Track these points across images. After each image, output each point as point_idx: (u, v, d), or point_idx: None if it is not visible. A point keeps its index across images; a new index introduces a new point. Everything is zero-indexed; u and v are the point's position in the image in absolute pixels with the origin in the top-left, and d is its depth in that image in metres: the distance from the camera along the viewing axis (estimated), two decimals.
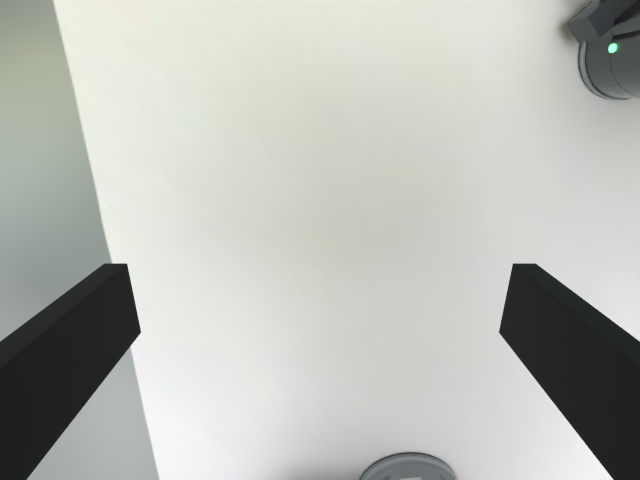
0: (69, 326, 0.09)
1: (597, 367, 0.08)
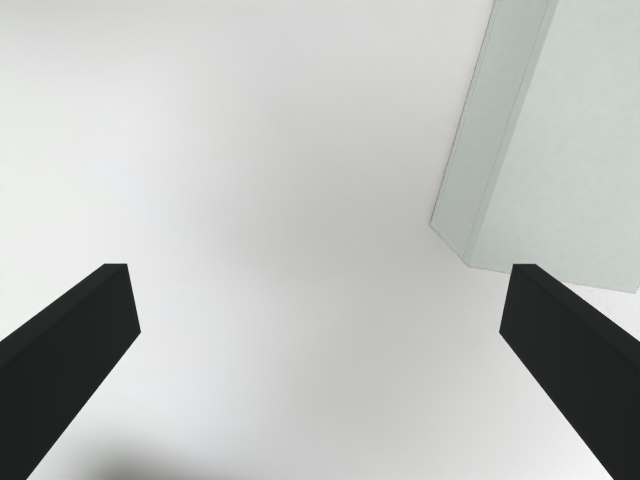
0: (69, 326, 0.09)
1: (597, 367, 0.08)
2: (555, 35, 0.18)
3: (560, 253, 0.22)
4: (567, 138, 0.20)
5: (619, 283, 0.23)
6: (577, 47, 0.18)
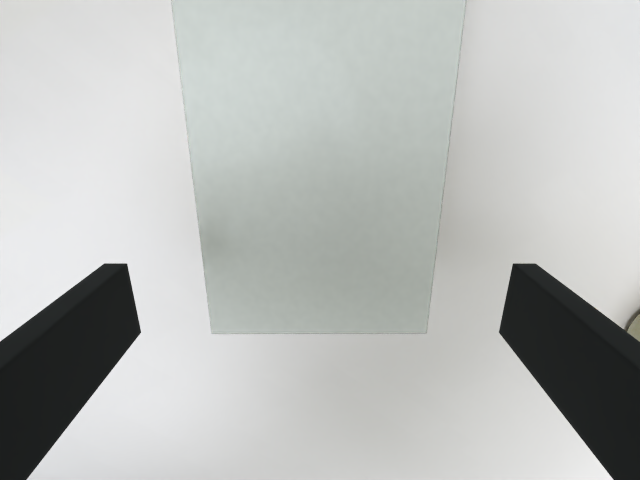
0: (69, 326, 0.09)
1: (597, 367, 0.08)
2: (188, 57, 0.14)
3: (314, 303, 0.18)
4: (261, 173, 0.16)
5: (401, 325, 0.19)
6: (222, 66, 0.14)
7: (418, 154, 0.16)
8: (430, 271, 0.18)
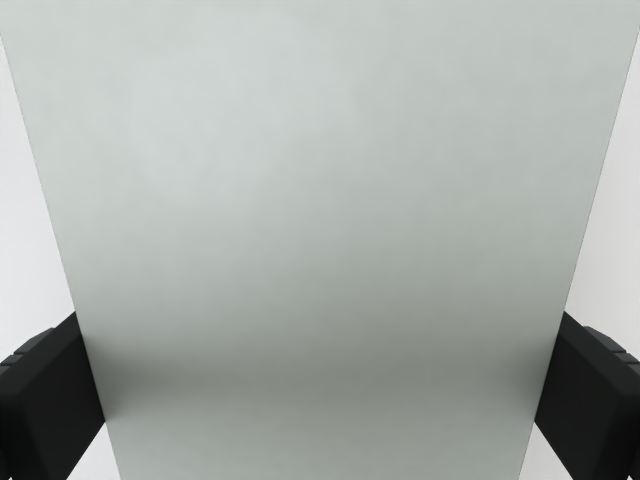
0: None
1: None
2: None
3: (310, 465, 0.10)
4: (200, 243, 0.08)
5: None
6: (94, 10, 0.06)
7: (530, 207, 0.07)
8: (529, 415, 0.09)
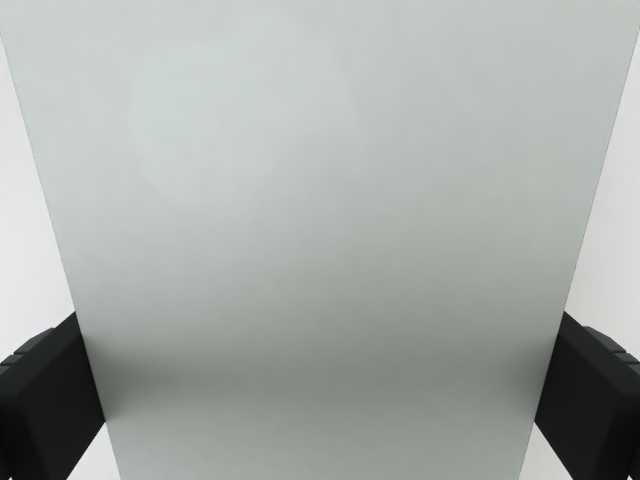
0: None
1: None
2: None
3: (310, 465, 0.10)
4: (199, 243, 0.08)
5: None
6: (94, 10, 0.06)
7: (530, 207, 0.07)
8: (529, 415, 0.09)
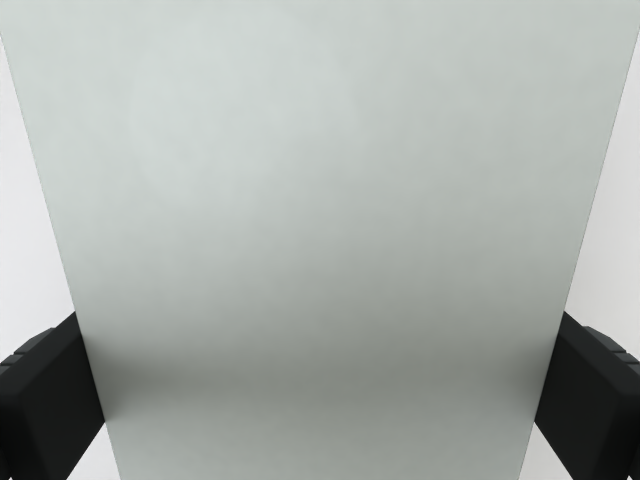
0: None
1: None
2: None
3: (310, 465, 0.10)
4: (199, 243, 0.08)
5: None
6: (94, 10, 0.06)
7: (530, 207, 0.07)
8: (529, 415, 0.09)
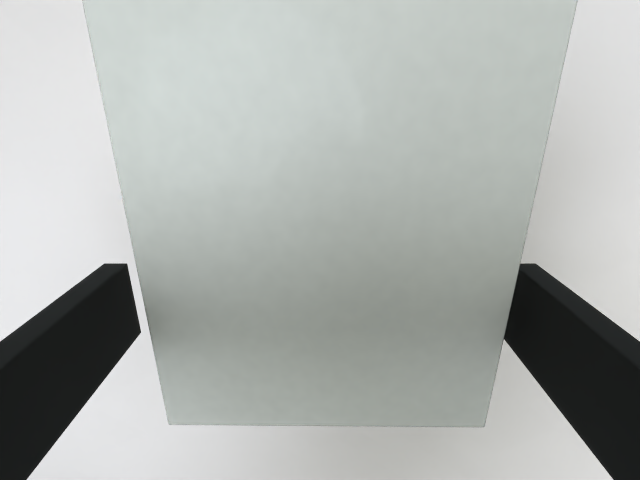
0: (69, 326, 0.09)
1: (597, 367, 0.08)
2: None
3: (318, 385, 0.12)
4: (233, 196, 0.10)
5: (448, 416, 0.13)
6: (159, 13, 0.08)
7: (492, 167, 0.09)
8: (497, 343, 0.11)
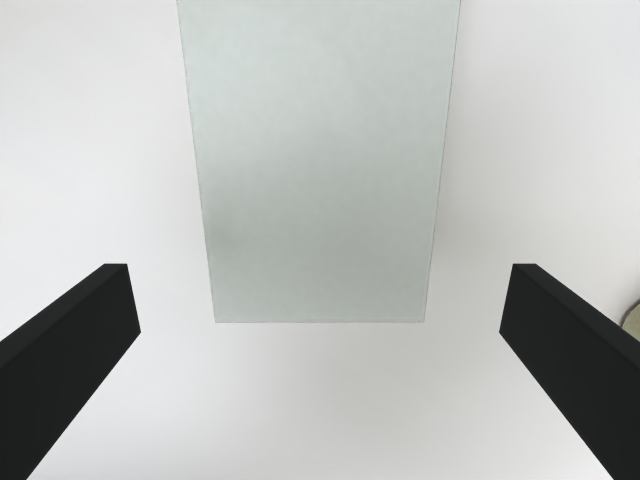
0: (69, 326, 0.09)
1: (597, 367, 0.08)
2: (193, 53, 0.15)
3: (314, 292, 0.19)
4: (263, 165, 0.17)
5: (399, 314, 0.19)
6: (225, 61, 0.15)
7: (415, 147, 0.16)
8: (427, 261, 0.18)
